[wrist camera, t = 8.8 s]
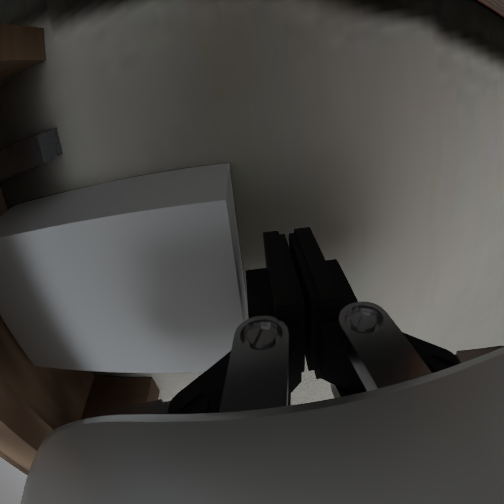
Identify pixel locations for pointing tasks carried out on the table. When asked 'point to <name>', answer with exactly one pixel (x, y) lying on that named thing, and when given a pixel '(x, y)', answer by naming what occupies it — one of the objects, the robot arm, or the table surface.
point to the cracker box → (494, 5)
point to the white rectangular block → (126, 274)
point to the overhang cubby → (3, 342)
